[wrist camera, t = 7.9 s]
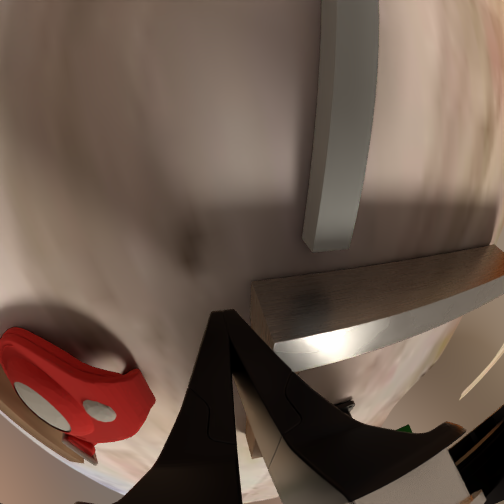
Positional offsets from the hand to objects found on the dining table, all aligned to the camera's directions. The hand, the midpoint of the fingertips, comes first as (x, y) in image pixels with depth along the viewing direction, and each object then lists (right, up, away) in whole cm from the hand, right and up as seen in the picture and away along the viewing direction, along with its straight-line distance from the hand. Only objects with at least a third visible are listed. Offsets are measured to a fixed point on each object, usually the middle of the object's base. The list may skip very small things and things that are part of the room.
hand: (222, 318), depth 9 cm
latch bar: (+10, +1, +4) cm, 10 cm away
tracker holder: (-10, -6, +3) cm, 12 cm away
